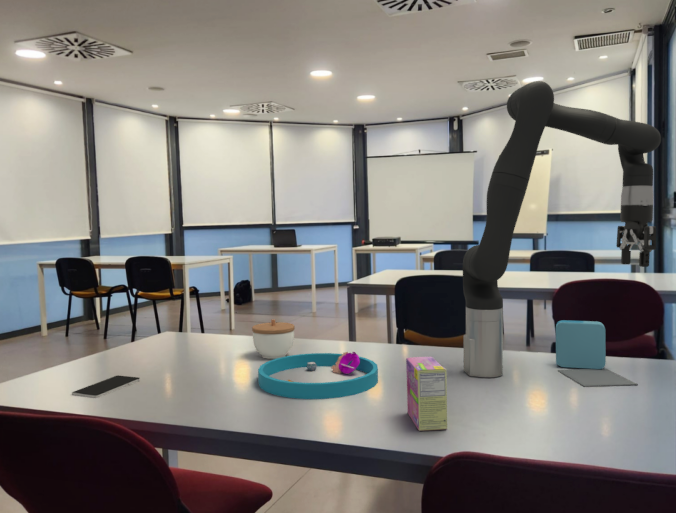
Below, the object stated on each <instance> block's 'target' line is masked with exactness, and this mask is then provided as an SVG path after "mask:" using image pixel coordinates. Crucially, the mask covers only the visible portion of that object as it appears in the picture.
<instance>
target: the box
mask: <svg viewBox="0 0 676 513" xmlns="http://www.w3.org/2000/svg"><path fill="white" fill-rule="evenodd" d="M405 361H406V362H405V363H406V366H405V367H406V368H405V370H406V400H407V401H406V402H407V403H406V404H407V406H406V407H407V414H408V416H409V417H410V419H411V420H412V423H413V424H414V426H415V427H416V428H417V430H418V431H419V432H421V431H422V432H423V431H439V430H448V397H447V396H448V394H447V393H448V392H447V391H448V390H447V387H448V386H447V368H446V367H444V366H443V365H442V364H441V363H440V362H439V361H437V360H436V359H435V357H433V356H415V357H413V356H412V357H406V359H405Z"/></svg>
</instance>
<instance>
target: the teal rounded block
mask: <svg viewBox="0 0 676 513" xmlns="http://www.w3.org/2000/svg"><path fill="white" fill-rule="evenodd" d="M555 325H556V326H555V362H556V364H557V366H559V367H561V368H568V369H605V367H606V362H607V361H606V359H607V358H606V354H607V353H606V350H607V348H606V327H605V325H604V324H603V323H602V322H600V321H597V320H596V321H593V320H592V321H590V320H565V319H563V320H559V321H557V322H556V324H555Z"/></svg>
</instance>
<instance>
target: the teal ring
mask: <svg viewBox="0 0 676 513" xmlns="http://www.w3.org/2000/svg"><path fill="white" fill-rule="evenodd" d="M317 367H330V368H331V370H332V372H333V373H334V374H338V375H340V374H345V375H346V374H347V375H349V374H351V373H353V372H354V371H355V370H357V371H360V372H362V373H363V372H364V373H366V374H364V375H361V376H358V377H355V378H350V379H349V378H348V379H344V380H339V381H326V382H301V381H292V379H287V380H283V379H278V378H276V377H272V375H275V374H277V373H279V372H285V371H287V370H293V369H299V368H301V369H302V368H306V369H307V370H308V371H310V372H314V371H315V370H316V369H317ZM257 373H258V374H257V376H258V377H257V379H258V382H257V383H258V385H259V388H260V389H261V390H262V391H264V392H265V393H269V394H271V395H274V396H278V397H283V398H289V399H298V400H299V399H300V400H328V399H337V398H339V399H340V398H346V397H350V396H355V395H358V394H362V393H365V392H368V391H370V390H371V389H373V388H375V387H376V386H377V384H378V383H379V368H378V364H377V363H376V362H375V361H374V360H371V359H368V358H366V357H363V356H359V355H358V354H357V353H356V352H355V351H352V352H348V351H345V352H342V353H332V352H324V353H323V352H320V353H319V352H315V353H313V352H312V353H299V354H294V355H293V354H291V355H286V356H285V357H281V358H276V359H270V360H269V361H268V360H267V361H266V362H264V363H263V364H261V365H260V366H259V368H258V370H257Z"/></svg>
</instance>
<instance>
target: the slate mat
mask: <svg viewBox="0 0 676 513" xmlns="http://www.w3.org/2000/svg"><path fill="white" fill-rule="evenodd" d="M557 372H558V373H560V374H562V375H564V376H565V377H567V378H569V379H570V380H572V381H573V382H574V383H577V384H578V385H580V386H582V387H583V388H585V387H586V388H590V387H596V388H597V387H620V386H621V387H623V386H638V383H637V382H634V381H632V380H630V379H628V378H626V377H624V376H623V375H620V374H618V373H616V372H615V371H612V370H611V369H608V368H603V369H584V368H575V369H557Z"/></svg>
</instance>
